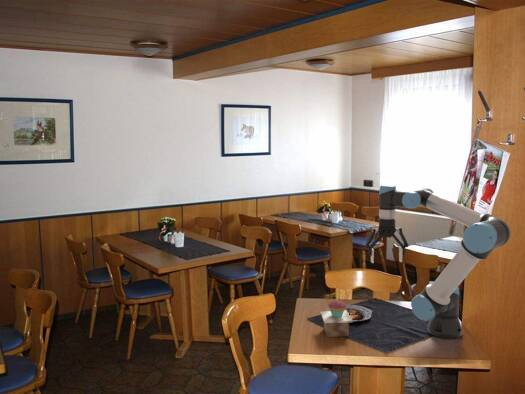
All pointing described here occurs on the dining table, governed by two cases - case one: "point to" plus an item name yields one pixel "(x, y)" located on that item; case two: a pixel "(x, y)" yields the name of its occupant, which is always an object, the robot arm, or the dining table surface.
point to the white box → (336, 324)
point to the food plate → (355, 308)
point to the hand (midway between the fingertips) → (386, 262)
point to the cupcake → (337, 307)
